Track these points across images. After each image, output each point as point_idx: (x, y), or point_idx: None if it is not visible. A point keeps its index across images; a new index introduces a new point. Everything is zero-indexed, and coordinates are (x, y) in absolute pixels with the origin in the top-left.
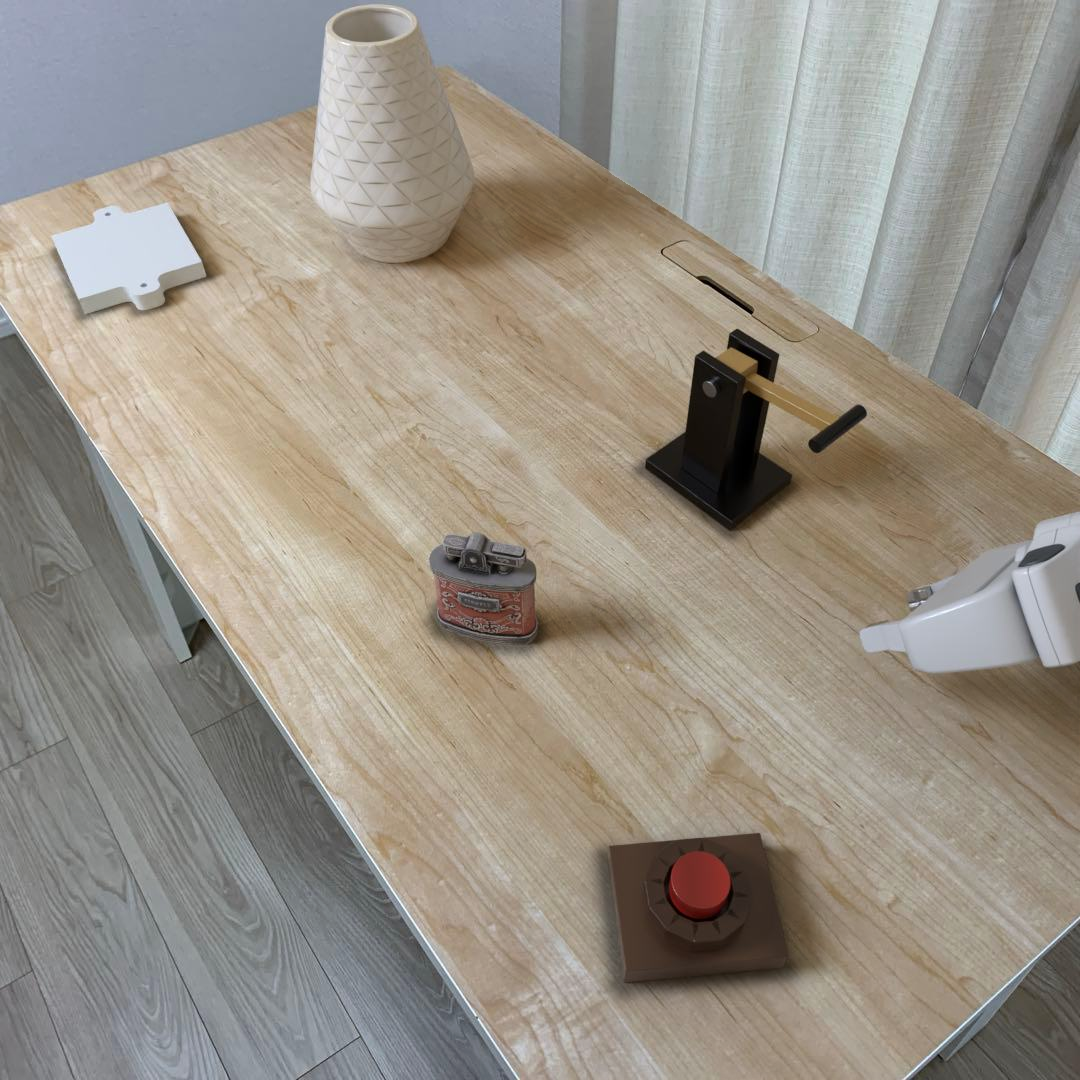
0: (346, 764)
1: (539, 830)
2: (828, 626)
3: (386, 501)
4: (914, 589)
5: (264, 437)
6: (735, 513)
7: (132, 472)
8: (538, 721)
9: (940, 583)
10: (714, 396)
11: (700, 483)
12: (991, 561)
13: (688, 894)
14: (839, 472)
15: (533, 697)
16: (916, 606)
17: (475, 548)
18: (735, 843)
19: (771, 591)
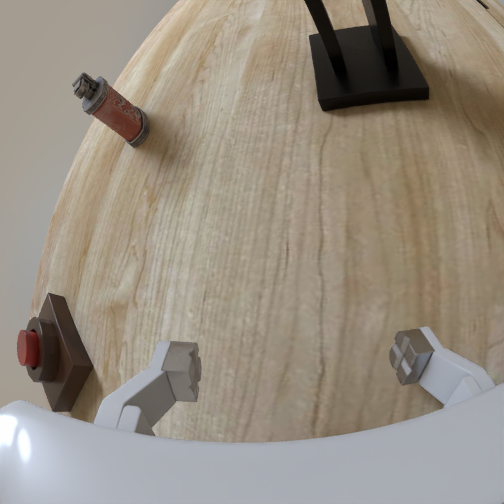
0: (69, 177)
1: (64, 258)
2: (301, 278)
3: (179, 49)
4: (420, 331)
5: (183, 22)
6: (331, 94)
7: (148, 37)
8: (99, 200)
9: (447, 362)
10: None
11: (329, 60)
12: (496, 453)
13: (18, 346)
14: (490, 120)
15: (109, 183)
16: (395, 356)
17: (73, 83)
18: (65, 354)
19: (292, 193)
